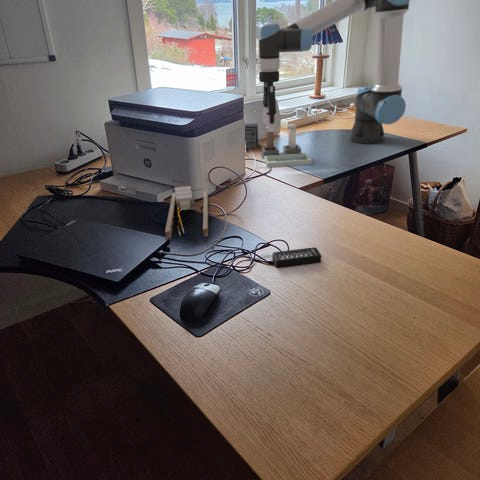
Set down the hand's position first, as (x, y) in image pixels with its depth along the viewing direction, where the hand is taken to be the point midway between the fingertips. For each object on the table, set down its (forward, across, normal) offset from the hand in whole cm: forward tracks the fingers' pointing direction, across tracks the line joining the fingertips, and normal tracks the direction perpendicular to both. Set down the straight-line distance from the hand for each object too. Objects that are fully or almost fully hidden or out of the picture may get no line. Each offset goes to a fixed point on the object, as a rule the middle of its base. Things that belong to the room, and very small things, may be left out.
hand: (269, 127), depth 168 cm
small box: (+13, -17, -8) cm, 22 cm away
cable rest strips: (+13, +51, -31) cm, 61 cm away
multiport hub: (+13, +82, -4) cm, 83 cm away
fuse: (+11, 0, +9) cm, 15 cm away
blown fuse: (+12, 0, 0) cm, 12 cm away
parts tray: (+12, +9, +6) cm, 16 cm away
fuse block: (+12, 0, +5) cm, 13 cm away
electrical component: (+14, +52, -32) cm, 63 cm away
